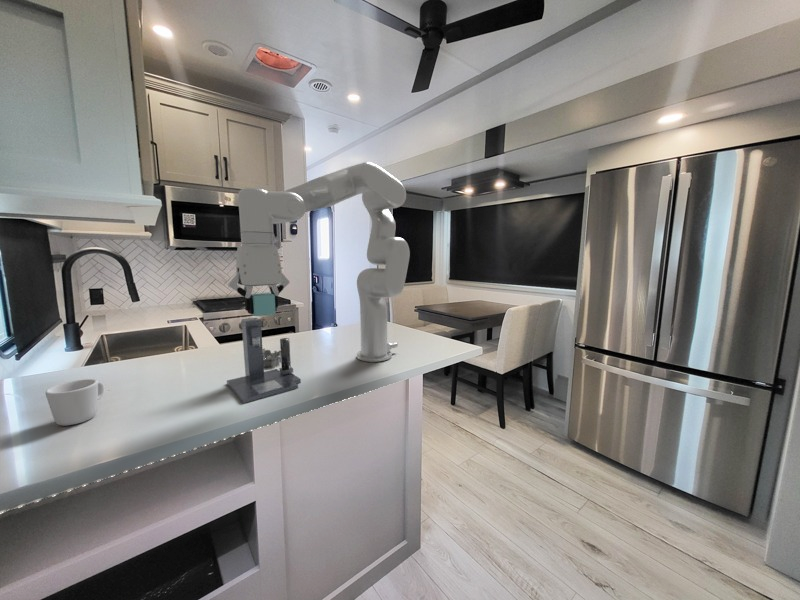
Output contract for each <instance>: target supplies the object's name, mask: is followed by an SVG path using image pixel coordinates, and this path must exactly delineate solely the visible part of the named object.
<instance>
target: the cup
mask: <svg viewBox="0 0 800 600" xmlns="http://www.w3.org/2000/svg"><path fill="white" fill-rule="evenodd" d="M103 395H104V384H103V382H101V381H99V380H97V379H94V378H93V379H92V378H86V379H85V378H83V379H77V380H76V379H75V380H71V381H68V382H63V383H60V384H56V385H54V386H52V387H50V388H48V389H46V391H45V397H46V399H47V403H48V405H49V408H50V411H51V414H52V418H53V421H54V422H55V424H57V425H58V426H63V427H64V426H73V425H77V424H80V423H81V424H82V423H84V422H87V421H89V420H91V419H92V418H95V416H96V415H97V413H98V411H99V400H100V399H102V397H103Z"/></svg>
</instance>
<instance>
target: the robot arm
mask: <svg viewBox="0 0 800 600" xmlns="http://www.w3.org/2000/svg"><path fill="white" fill-rule="evenodd" d="M360 194H361V199H362V204H363V206H364V208H365V209H366V211H367V213H368V214H369V216H370V220H371V227H370V233H369V238H368V243H367V244H368V245H367V249H366V258H367V261H368V262H369V263H370V264H372V265H376V266H385V267H384V268H378V267H377V268H376V267H375V268H374V267H373V268H371V267H370V268H366V269H363V270H361V271H360V272H359V274H358V275H357V278H356V286H357V292H358V297H359V298H358V299H359V309H360V310H359V311H360V313H359V316H360V317H359V320H360V321H359V323H360V350H359V351H358V352H357V353H356V358H357V359H358V360H360V361H362V362H367V363H368V362H369V363H375V362H376V363H377V362H384V361H387V360H389V359H391V358H392V357H393V354H392V351H391V350H392V349H395V348H398V346H399V343H398V342H397V341H395V342H392V343H391V342H388V305H387V301H386V299H385V298H388V299H390V298H391V299H392V298H397V297H399V296H400V295H401V294H402V293H403V291H404V286H405V284H406V279H407V273H408V268H409V262H410V257H411V255H410V254H411V251H410V247H409V244H408V242H407V241H406V240H405V239H404V238H402V237H399V236H396V228H397V227H396V220H395V219H394V216H393V215H392V213H391V211H390V209H397V208H400V207H401V206H403V205H404V204H405V203H406V202H405V201H406V199H407V191H406V188H405V186H404V184H403V183H402V182H401V181H400V180H398V179H397V178H396V177H395V176H393V175H392V174H390V172H388V171H387V170H385V169H384V168H382V167H381V166H379V165H378V164H376V163H373V162H371V161H365V162H362V163H357V164H354V165H351V166H347V167H345V168H342V169H339V170H336V171H333V172H330V173H328V174H324V175H321V176H318V177H316V178H313V179H310V180H308V181H307V182H304V183H302V184H300V185H297V186H295V187H292V188H288V189H285V190H283V191H271V190H270V191H269V190H266V189H262V188H256V187H245V188H242V189H240V190H239V191H238V195H237V196H238V197H237V198H238V199H237V201H238V212H239V227H240V229H239V230H240V239H241V240H240V242H241V245H237V250H236V259H235V263H236V264H235V267H236V269H235V270H236V271H235V275H234V276H233V277H232V279H231V280H230V282H228V284H227V285H228V287H229V288H231V289H232V290H233V291H235V292H236V293H238V294H240V295H241V296H242V297H243V298H244V309H245V311H246V312H247V314H249V313H250V315H252V314H253V313H254V309H253V298H251V294H253V293H252V292H253V289H254V288H253V287H260V286H261V287H263V286H268V289H269V291H270V292H269V293H270V294H274V295H275V311H276V312H277V309H278V307H279V301H278V297H279V295H280V293H282V291H284V288H286V287H287V286H288V285H289V284H290V280H289V279H288V278H287V277H286V276H285V275H284V273H283V272H282V266H281V258H280V253H279V250H278V247H277V246H276V245H275V244H276V243H279V242H280V237H279V236H275V233H274V225H278V224H283V223H284V224H285V223H287V224H288V223H292V222H296V221H298V220H301V219H302V218H303V217H304V215H305V213H308V212H311V211H317V210H323V209H326V208H329V207H332V206H335V205H337V204H339V203H341V202H345V200H349V199H351V198H353V197H356V196H358V195H360ZM239 285H240V286H239ZM241 286H244V287H243V288H242V287H241Z"/></svg>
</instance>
